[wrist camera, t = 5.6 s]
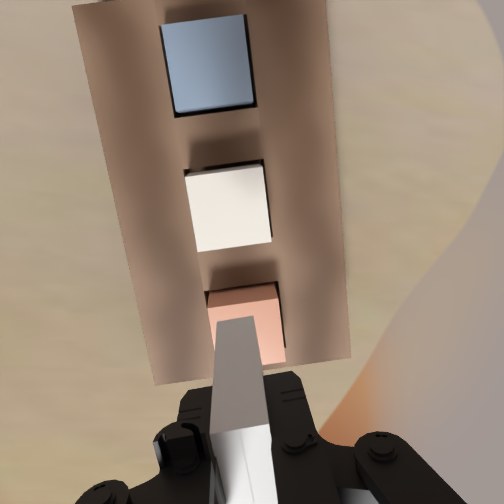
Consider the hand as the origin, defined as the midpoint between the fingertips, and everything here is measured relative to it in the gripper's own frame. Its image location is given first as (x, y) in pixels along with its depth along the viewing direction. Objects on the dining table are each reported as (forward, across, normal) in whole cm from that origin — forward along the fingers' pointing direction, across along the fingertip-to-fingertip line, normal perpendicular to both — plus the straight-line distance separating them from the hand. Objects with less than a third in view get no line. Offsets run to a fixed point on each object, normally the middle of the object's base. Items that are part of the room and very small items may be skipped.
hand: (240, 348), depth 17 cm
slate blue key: (+13, -1, -12) cm, 17 cm away
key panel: (+16, 0, -4) cm, 17 cm away
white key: (+11, 0, -4) cm, 12 cm away
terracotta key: (+11, 0, +4) cm, 12 cm away
